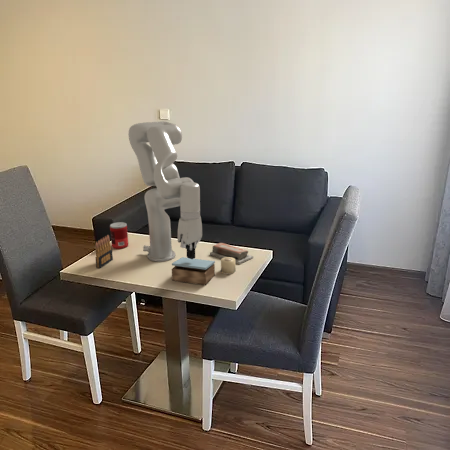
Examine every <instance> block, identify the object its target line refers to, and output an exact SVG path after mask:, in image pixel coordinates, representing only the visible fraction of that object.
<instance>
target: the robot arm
mask: <svg viewBox="0 0 450 450" xmlns="http://www.w3.org/2000/svg"><path fill="white" fill-rule="evenodd" d="M182 139H183V134H182V130H181V128H179V126H178V125H176V124H175V123H172V122H168V121H163V120H162V121H148V122H138V123H135V124H133V125H130V127H129V128H128V141H129V143H130V144H129V145H130V146H131V149H132V150H133V152H134V154H135V156H136V159H137V162H138V165H139V171H140V174H141V178H142V180H143V183H144V184H145V186H149V187H156V188H152V189H149V190H147V191H146V192H145V193H144V203H145V207H146V211H147V220H148V222H147V223H148V234H149V245H146V244H145V245H142V246H143V247H142V250H143V252H147V259H148V260H150V261H152V262H167V261H170V260H172V259H174V258H176V252H175V251H174V250H173V249H172V247H173V246H172V231H171V230H172V229H171V219H170V215H168V213H167V212H166V211H165V210H167V209H173V208H176V207H180V208H179V209H180V217H179V220H178V226H177V242H178V243H180V248H182V249H185V250H186V258H190V259H196V249H197V245H198V243H199V242H200V241H201V240H202V238H203V223H202V217H201V202H200V201H201V188H200V185H199V183H197V182H194V180H193V179H192V178H190V177H186V176H185V177H180V174H179V171H178V168H177V165H175V164H174V163H175V162H176V161H177V159H178V152H177V151H176V148H175V147H174V145H175V146H176V145H179V144H180V143H181V142H182ZM148 143H149V144H148Z"/></svg>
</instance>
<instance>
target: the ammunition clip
mask: <svg viewBox="0 0 450 450" xmlns="http://www.w3.org/2000/svg"><path fill="white" fill-rule="evenodd" d="M111 247H112V243H111V238H110V235H109V234H107V235H105V236H103V237H102V238H100V239H98V241H95V268H96V269H102V268H104V267H105V266H106V265H107V264H109V263H110V262H111V261H113V260H114V256H113V249H112V248H111Z"/></svg>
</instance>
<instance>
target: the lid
mask: <svg viewBox="0 0 450 450" xmlns="http://www.w3.org/2000/svg"><path fill="white" fill-rule="evenodd" d="M215 263H216V262H215V260H208V259H201V258H200V259H199V258H193V259H190V258H187V257H185V256H182V257H180V258H179V259H177V260H176V261H173V262H172V263H171V266H173V267H175V266H181V267H189V268H196V269H204V270H206V269H207V268H209V267H210V266H211V265H213V264H215Z"/></svg>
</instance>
